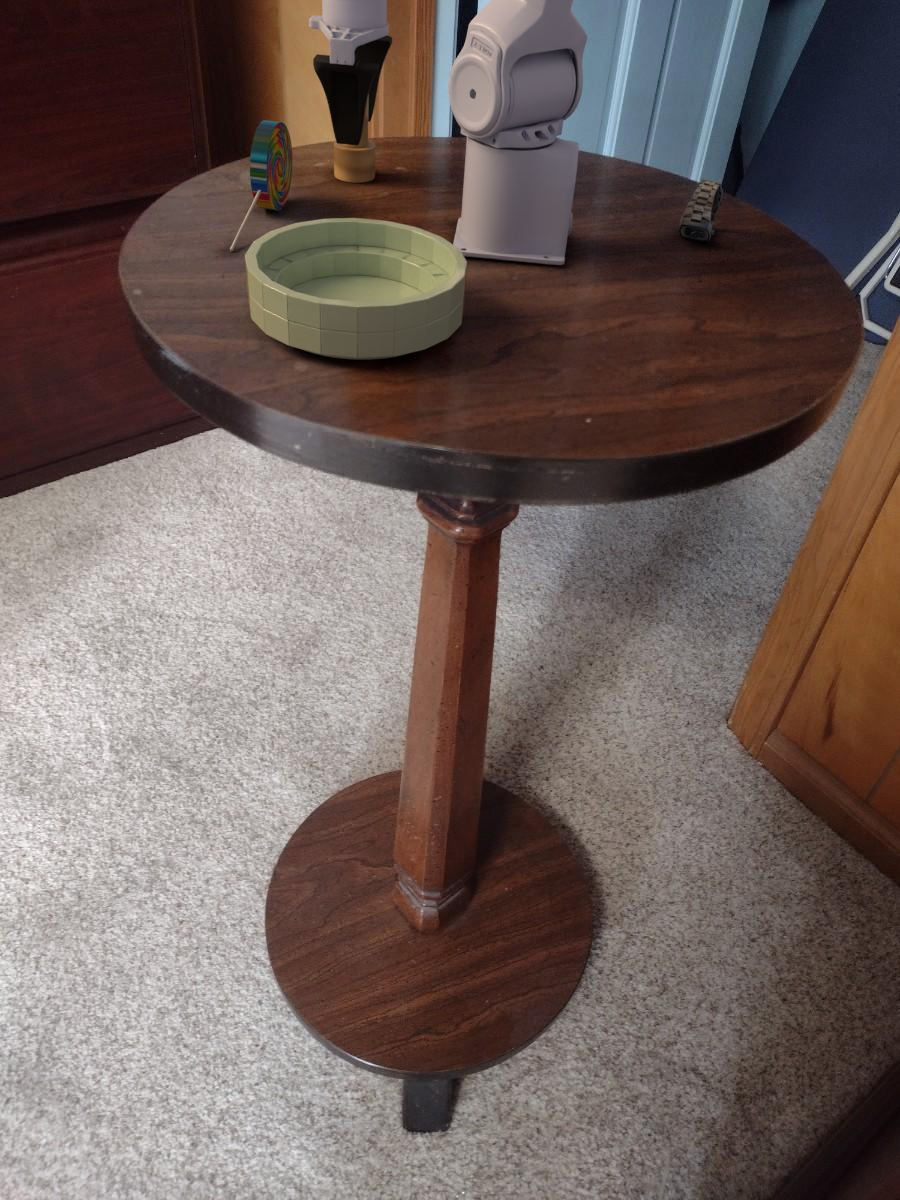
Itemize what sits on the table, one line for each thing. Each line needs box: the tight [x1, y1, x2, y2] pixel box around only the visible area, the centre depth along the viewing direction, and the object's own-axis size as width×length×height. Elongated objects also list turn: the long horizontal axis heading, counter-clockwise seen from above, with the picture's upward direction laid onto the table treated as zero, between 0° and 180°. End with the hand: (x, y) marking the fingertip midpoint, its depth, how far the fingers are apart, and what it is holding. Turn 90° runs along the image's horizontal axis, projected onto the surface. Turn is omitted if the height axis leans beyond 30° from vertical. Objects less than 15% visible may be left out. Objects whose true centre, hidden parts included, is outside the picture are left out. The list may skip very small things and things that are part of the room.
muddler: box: [333, 94, 376, 184], centre depth 93 cm, size 4×4×8 cm
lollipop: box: [229, 119, 294, 252], centre depth 83 cm, size 7×1×15 cm
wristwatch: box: [678, 178, 724, 243], centre depth 87 cm, size 3×5×5 cm
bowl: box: [244, 217, 468, 361], centre depth 70 cm, size 16×16×4 cm
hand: (354, 131), depth 93 cm, fingers open, 7 cm apart
